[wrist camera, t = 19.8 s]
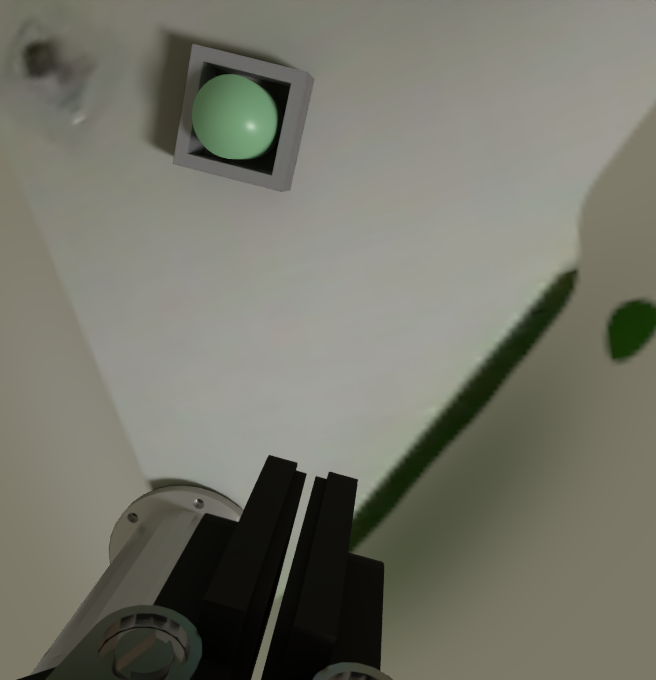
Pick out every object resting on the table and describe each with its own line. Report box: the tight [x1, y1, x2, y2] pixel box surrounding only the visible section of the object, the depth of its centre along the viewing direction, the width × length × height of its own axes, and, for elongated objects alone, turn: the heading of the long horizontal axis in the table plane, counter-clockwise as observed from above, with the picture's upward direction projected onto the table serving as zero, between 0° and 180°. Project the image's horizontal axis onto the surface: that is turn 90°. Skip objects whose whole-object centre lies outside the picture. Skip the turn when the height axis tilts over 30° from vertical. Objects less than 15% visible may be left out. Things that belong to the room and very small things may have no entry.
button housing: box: [173, 43, 314, 192], centre depth 39 cm, size 7×7×3 cm
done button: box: [192, 74, 283, 160], centre depth 38 cm, size 5×5×4 cm
